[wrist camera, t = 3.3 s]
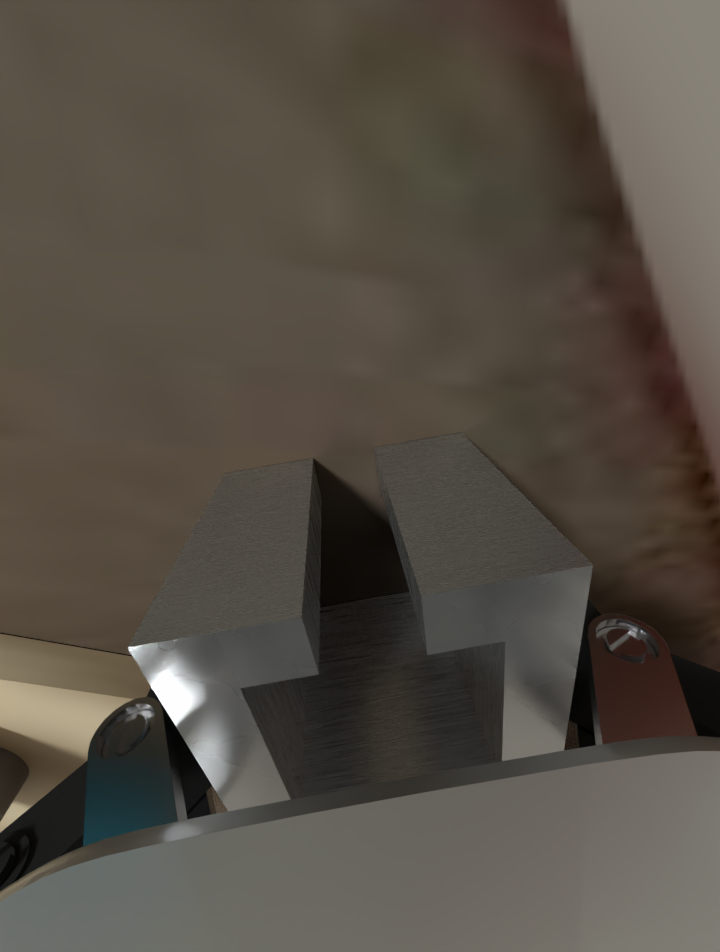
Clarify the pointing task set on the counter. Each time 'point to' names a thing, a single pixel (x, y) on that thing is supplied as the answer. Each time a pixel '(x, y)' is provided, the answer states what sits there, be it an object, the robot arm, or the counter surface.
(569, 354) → the counter surface
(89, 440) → the counter surface
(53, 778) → the keyed post stand
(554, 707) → the grey hollow block
